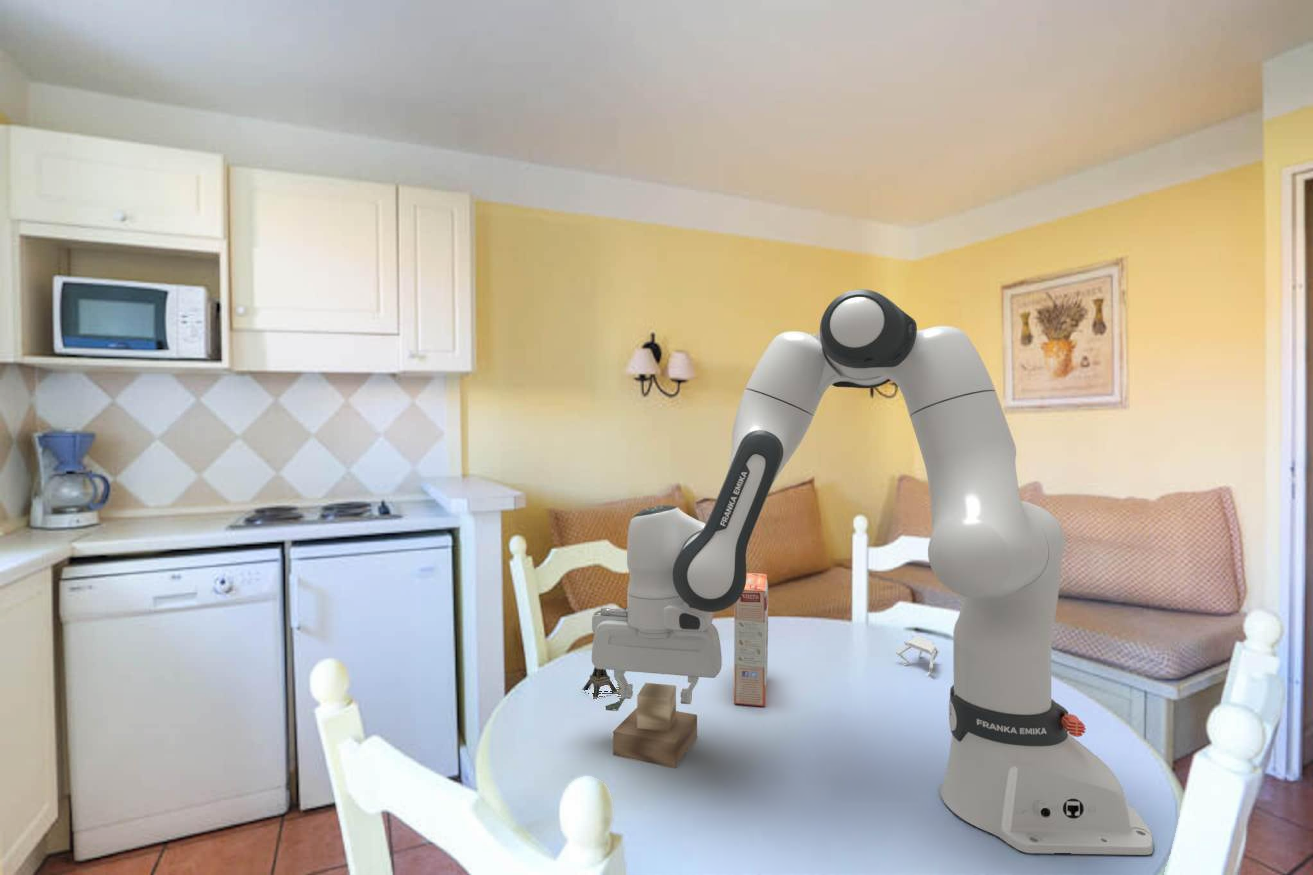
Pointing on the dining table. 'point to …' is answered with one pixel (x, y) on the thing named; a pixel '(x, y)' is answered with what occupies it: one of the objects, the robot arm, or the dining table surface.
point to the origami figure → (923, 647)
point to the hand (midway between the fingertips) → (656, 699)
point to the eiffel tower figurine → (601, 679)
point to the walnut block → (655, 740)
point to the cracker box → (751, 642)
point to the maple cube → (656, 707)
